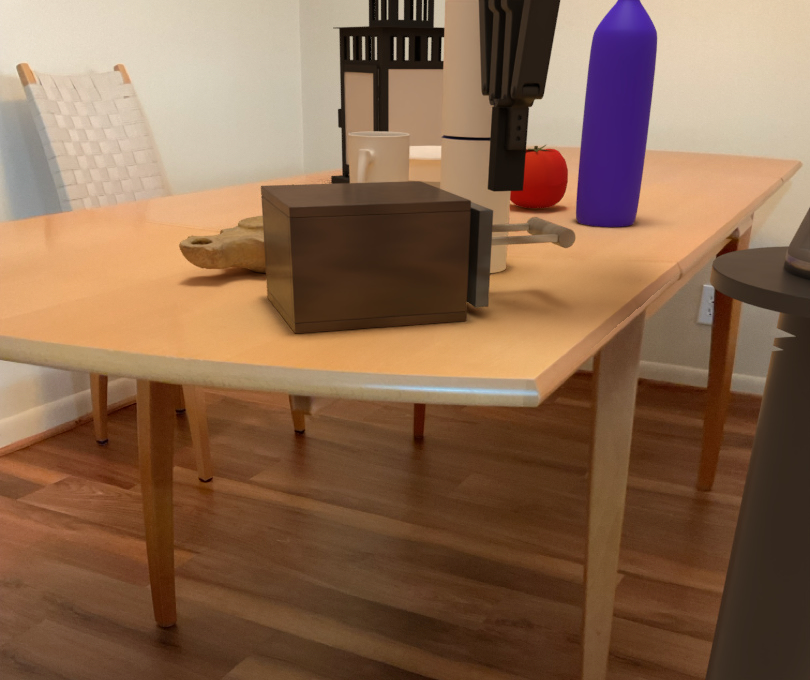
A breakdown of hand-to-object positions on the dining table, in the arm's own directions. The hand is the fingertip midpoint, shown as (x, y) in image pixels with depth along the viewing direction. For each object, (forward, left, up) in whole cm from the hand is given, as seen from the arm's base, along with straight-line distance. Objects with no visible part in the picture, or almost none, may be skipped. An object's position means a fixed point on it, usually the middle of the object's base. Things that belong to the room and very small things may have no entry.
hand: (505, 189), depth 79 cm
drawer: (+4, +4, -9) cm, 10 cm away
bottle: (0, -48, -10) cm, 49 cm away
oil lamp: (+26, -1, -10) cm, 28 cm away
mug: (+20, -17, -10) cm, 28 cm away
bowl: (+21, -40, -10) cm, 46 cm away
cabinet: (+10, +8, -9) cm, 16 cm away
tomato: (+12, -56, -10) cm, 58 cm away
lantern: (+39, -70, -10) cm, 80 cm away
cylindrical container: (+7, -13, -10) cm, 17 cm away
